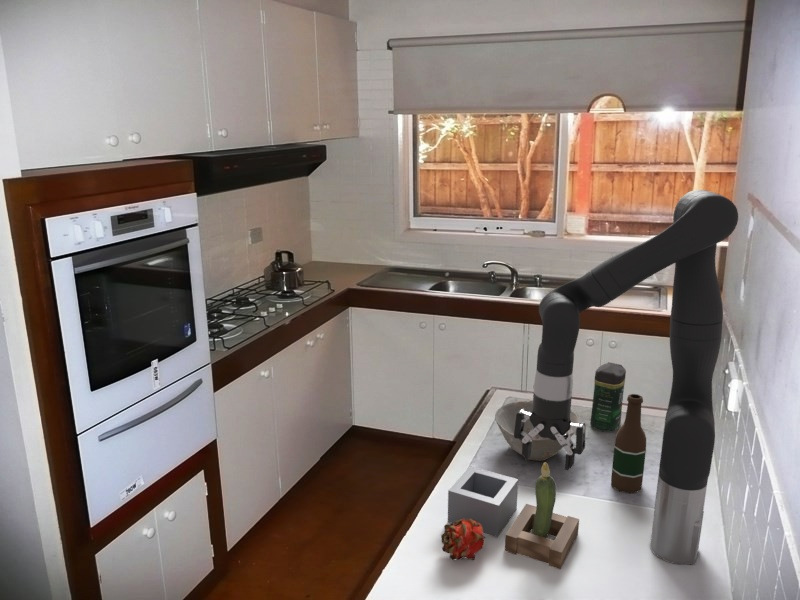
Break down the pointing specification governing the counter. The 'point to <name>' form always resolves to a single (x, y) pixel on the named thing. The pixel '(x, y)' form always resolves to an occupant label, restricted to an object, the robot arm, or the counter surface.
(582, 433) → the robot arm
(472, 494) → the holder
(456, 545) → the dragon fruit
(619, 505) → the counter surface
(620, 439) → the beer bottle
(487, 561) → the counter surface
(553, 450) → the ceramic bowl
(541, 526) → the vegetable
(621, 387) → the coffee jar
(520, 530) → the board
